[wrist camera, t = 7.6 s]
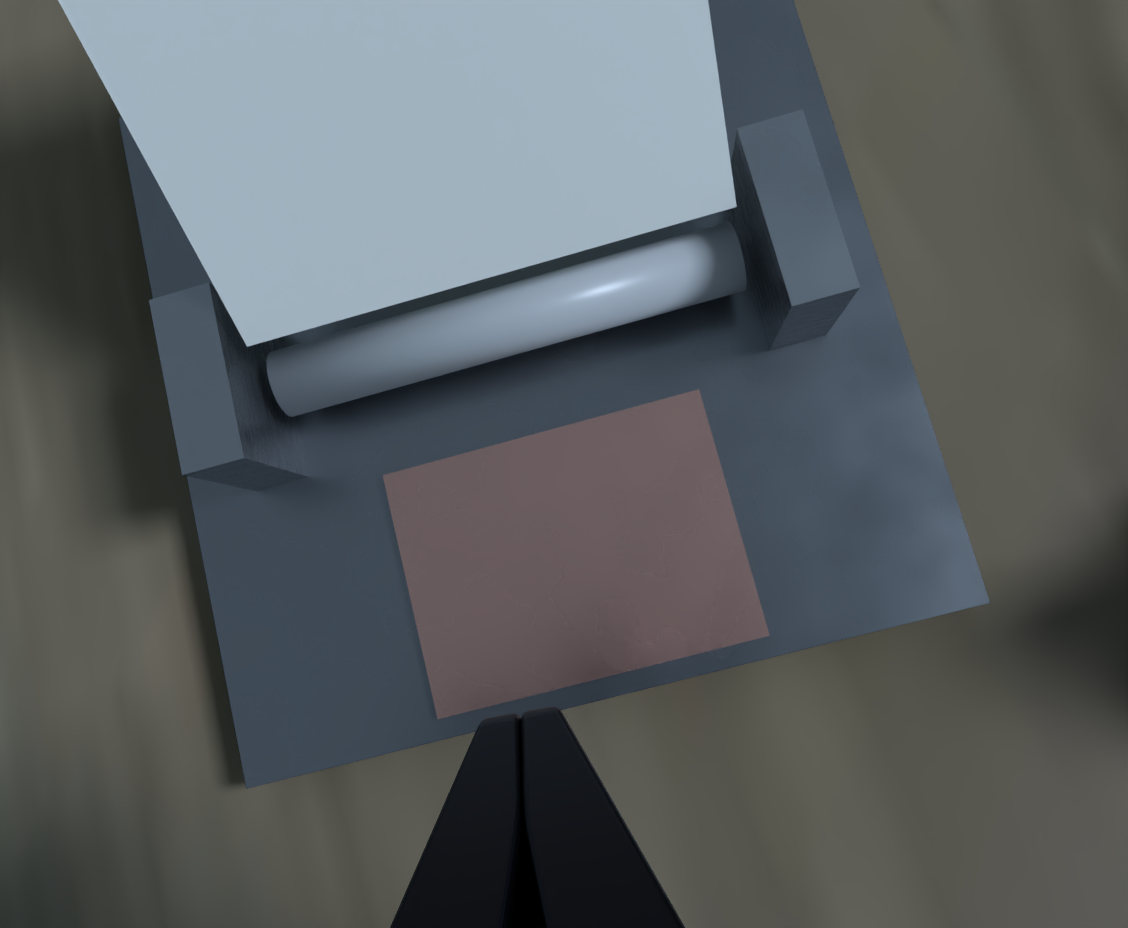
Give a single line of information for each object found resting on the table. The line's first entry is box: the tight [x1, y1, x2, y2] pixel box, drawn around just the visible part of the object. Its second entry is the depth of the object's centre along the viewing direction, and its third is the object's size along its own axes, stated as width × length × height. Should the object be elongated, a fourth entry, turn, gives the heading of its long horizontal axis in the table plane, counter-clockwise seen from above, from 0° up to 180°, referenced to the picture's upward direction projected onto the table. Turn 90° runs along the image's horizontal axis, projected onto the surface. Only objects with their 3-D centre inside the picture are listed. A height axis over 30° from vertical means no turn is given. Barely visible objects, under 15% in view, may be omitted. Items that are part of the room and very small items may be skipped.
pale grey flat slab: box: [58, 0, 747, 417], centre depth 17 cm, size 2×11×14 cm
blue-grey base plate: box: [119, 0, 990, 789], centre depth 21 cm, size 18×18×4 cm
